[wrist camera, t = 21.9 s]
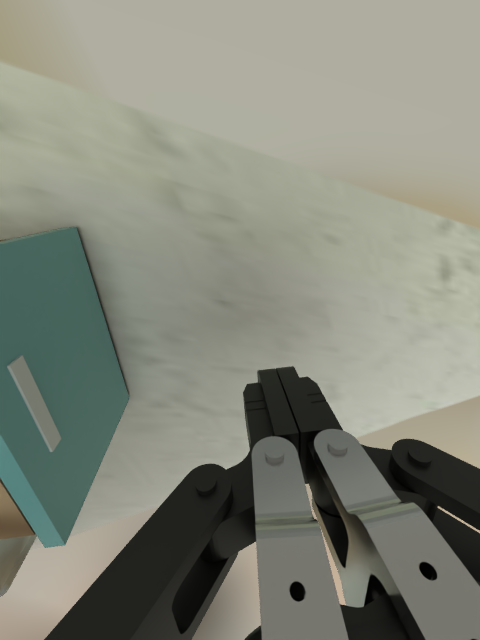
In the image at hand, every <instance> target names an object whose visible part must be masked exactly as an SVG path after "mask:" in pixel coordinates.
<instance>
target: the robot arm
mask: <svg viewBox="0 0 480 640" xmlns="http://www.w3.org/2000/svg"><path fill="white" fill-rule="evenodd" d="M257 374H258V383H252V384H247V385H246V387H245V390H244V392H243V397H244V408H245V419H246V427H247V433H248V440H249V447H250V451H249V453H248V455H247V457H246V458H245V459H244V460H243V461H242V462H240V463H239V464H237V465H235V466H233V467H231V468H229V469H227V470H225V469H224V468H223V467H221V466H219V465H216V464H204V465H201V466H198V467H196V468H195V469H193V470H192V471H191V472H190V473H189V474H188V475H187V476H186V477H185V478H184V479H183V480H182V482H181V483H180V484H179V485H178V486H177V487H176V489H175V490H174V491H173V492H172V493H171V494H170V495H169V497H168V498H167V499H166V500H165V501H164V502H163V503H162V505H161V506H160V507H159V508H158V509H157V510H156V512H155V513H154V514H153V515H152V516H151V517H150V518H149V520H148V521H147V522H146V523H145V524H144V525H143V527H142V528H141V529H140V530H139V531H138V533H136V535H135V536H134V537H133V538H132V539H131V540H130V541H129V543H128V544H127V545H126V546H125V547H124V549H123V550H122V551H121V552H120V553H119V554H118V555H117V556H116V558H115V559H114V560H113V561H112V562H111V563H110V565H109V566H108V567H107V568H106V569H105V570H104V572H103V573H102V574H101V575H100V576H99V577H98V578H97V580H96V581H95V582H94V583H93V584H92V585H91V587H90V588H89V589H88V590H87V591H86V592H85V593H84V595H83V596H82V597H81V598H80V599H79V600H78V601H77V603H76V604H75V605H74V606H73V607H72V608H71V609H70V611H69V612H68V613H67V614H66V615H65V616H64V618H63V619H62V620H61V621H60V622H59V623H58V625H57V626H56V627H55V628H54V629H53V630H52V631H51V632H50V634H49V635H48V636H47V637H46V638H45V639H44V640H191V639H192V637H193V636H194V634H195V632H196V630H197V628H198V626H199V625H200V623H201V621H202V619H203V617H204V616H205V614H206V612H207V610H208V608H209V606H210V604H211V603H212V601H213V599H214V597H215V595H216V594H217V592H218V590H219V588H220V586H221V585H222V583H223V581H224V579H225V577H226V576H227V574H228V572H229V570H230V568H231V566H232V564H233V563H234V561H235V559H236V557H237V555H238V552H239V551H240V550H242V549H244V548H245V547H247V546H249V545H251V544H252V543H254V542H256V545H257V563H258V579H259V596H260V614H261V626H259V627H258V628H256V629H255V630H254V631H253V632H252V633H250V634H249V635H248V636H247V637H246V638H245V640H480V533H478V532H477V531H475V530H473V529H472V528H470V527H468V526H467V525H465V524H463V523H462V522H460V521H458V520H457V519H455V518H453V517H452V516H450V515H448V514H447V513H445V512H443V511H442V510H440V509H438V508H437V507H438V506H440V507H441V508H443V509H445V510H446V511H448V512H450V513H451V514H453V515H455V516H456V517H458V518H460V519H461V520H463V521H465V522H466V523H468V524H470V525H471V526H473V527H475V528H476V529H478V530H480V469H479V468H477V467H475V466H472V465H470V464H468V463H466V462H464V461H462V460H460V459H458V458H456V457H454V456H452V455H450V454H447V453H446V452H443V451H441V450H439V449H437V448H435V447H433V446H431V445H429V444H427V443H424V442H422V441H418V440H414V439H402V440H399V441H397V442H395V443H394V445H393V446H392V450H386V449H379V448H372V447H367V446H364V445H361V444H360V443H359V442H358V440H357V439H356V438H355V437H354V436H352V435H351V434H349V433H347V432H345V431H343V429H342V428H341V426H340V424H339V422H338V420H337V419H336V417H335V415H334V413H333V411H332V410H331V408H330V406H329V404H328V403H327V402H326V399H325V397H324V395H322V392H321V390H320V388H319V386H318V385H317V383H315V382H314V381H313V380H311V379H310V378H309V377H302V378H299V376H298V374H297V372H296V370H295V368H294V367H293V366H292V367H283V368H276V369H266V370H258V372H257ZM308 483H309V486H310V489H311V491H312V507H313V510H314V512H315V515H316V517H317V520H318V521H317V520H316V519H314V518H313V515H312V511H311V507H310V503H309V498H308V494H307V491H306V486H305V484H308ZM318 522H319V523H318ZM319 525H320V526H319ZM320 527H321V529H320ZM321 530H322V532H323V535H324V537H325V540H326V542H327V545H328V547H329V550H330V552H331V555H332V557H333V560H334V562H335V565H336V567H337V570H338V573H339V575H340V579H341V583H342V588H343V594H344V598H345V602H346V605H340V604H339V599H338V596H337V592H336V588H335V584H334V580H333V576H332V572H331V568H330V564H329V560H328V556H327V552H326V548H325V544H324V540H323V537H322V533H321ZM36 537H37V535H36V534H35V535H32V536H24V537H16V538H8V539H0V597H1V596H3V595H4V594H5V593H6V592H7V590H8V589H9V587H10V586H11V584H12V582H13V580H14V578H15V576H16V574H17V572H18V570H19V569H20V567H21V565H22V563H23V561H24V559H25V557H26V555H27V553H28V552H29V550H30V548H31V546H32V544H33V542H34V540H35V539H36Z"/></svg>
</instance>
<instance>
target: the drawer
mask: <svg viewBox="0 0 480 640" xmlns="http://www.w3.org/2000/svg"><path fill="white" fill-rule="evenodd" d="M128 400H129V396H128V393H127V389H126V386H125V383H124V380H123V376H122V373H121V370H120V367H119V363H118V360H117V357H116V354H115V351H114V347H113V344H112V341H111V338H110V334H109V331H108V328H107V325H106V321H105V318H104V315H103V312H102V308H101V305H100V302H99V299H98V296H97V292H96V289H95V286H94V283H93V279H92V276H91V273H90V270H89V266H88V263H87V260H86V257H85V254H84V250H83V247H82V244H81V241H80V237H79V234H78V231H77V228H76V227H69V228H60V229H55V230H51V231H46V232H42V233H37V234H32V235H28V236H23V237H19V238H14V239H9V240H5V241H0V478H1V480H2V481H3V483H4V485H5V486H6V488H7V489H8V491H9V492H10V494H11V496H12V497H13V499H14V500H15V502H16V503H17V505H18V506H19V508H20V510H21V511H22V513H23V514H24V516H25V517H26V519H27V521H28V522H29V524H30V525H31V527H32V528H33V530H34V532H35V533H36V535H37V536H38V538H39V539H40V541H41V542H42V544H43V546H44V547H45V548H46V547H55V546H63V545H65V544H66V542H67V540H68V537H69V535H70V533H71V531H72V528H73V526H74V524H75V521H76V519H77V517H78V515H79V512H80V510H81V508H82V505H83V503H84V501H85V499H86V496H87V494H88V492H89V489H90V487H91V485H92V483H93V480H94V478H95V476H96V473H97V471H98V469H99V467H100V464H101V462H102V460H103V457H104V455H105V453H106V451H107V448H108V446H109V444H110V441H111V439H112V437H113V435H114V432H115V430H116V428H117V425H118V423H119V421H120V419H121V416H122V414H123V412H124V409H125V407H126V405H127V403H128Z"/></svg>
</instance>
